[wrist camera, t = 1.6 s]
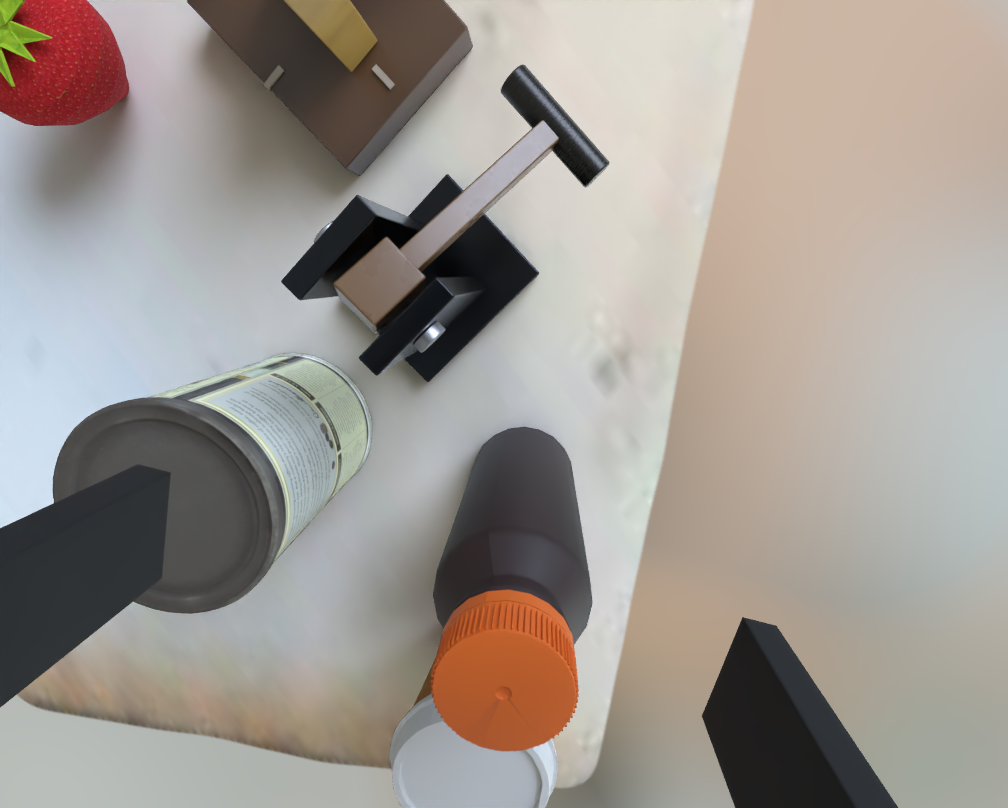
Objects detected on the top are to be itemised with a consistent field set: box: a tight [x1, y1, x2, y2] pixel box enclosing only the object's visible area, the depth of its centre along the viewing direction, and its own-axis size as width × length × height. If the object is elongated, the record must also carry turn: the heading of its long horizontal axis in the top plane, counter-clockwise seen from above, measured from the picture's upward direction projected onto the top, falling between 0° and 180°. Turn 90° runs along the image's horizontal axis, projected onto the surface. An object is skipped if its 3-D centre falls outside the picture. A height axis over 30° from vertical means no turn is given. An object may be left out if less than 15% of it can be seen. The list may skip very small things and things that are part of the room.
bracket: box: [281, 174, 539, 382], centre depth 27 cm, size 10×8×15 cm
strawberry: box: [0, 0, 129, 126], centre depth 28 cm, size 6×8×10 cm
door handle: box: [334, 65, 609, 334], centre depth 22 cm, size 13×6×2 cm, turn 133°
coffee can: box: [53, 353, 372, 614], centre depth 30 cm, size 10×10×14 cm
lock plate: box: [187, 0, 473, 175], centre depth 30 cm, size 12×10×3 cm
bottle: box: [430, 427, 592, 752], centre depth 27 cm, size 7×7×20 cm
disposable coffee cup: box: [390, 661, 558, 808], centre depth 34 cm, size 10×10×12 cm
